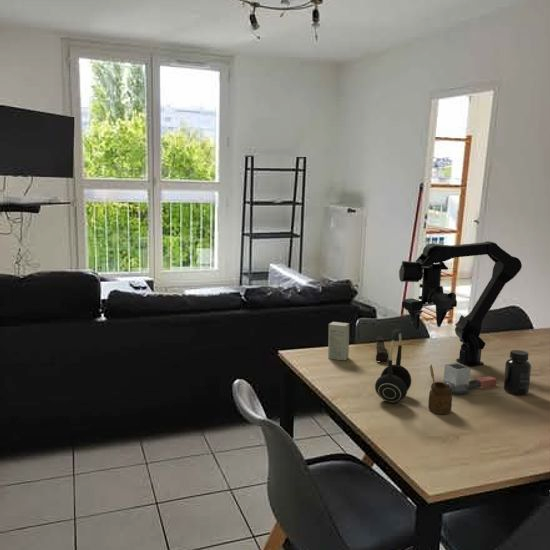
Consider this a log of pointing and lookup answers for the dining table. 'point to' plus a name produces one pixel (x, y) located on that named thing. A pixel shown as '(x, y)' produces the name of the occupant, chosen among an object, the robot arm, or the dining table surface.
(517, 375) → the supplement bottle
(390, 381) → the headphones
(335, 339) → the skincare box
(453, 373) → the square hollow container
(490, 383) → the ratchet
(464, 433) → the dining table surface
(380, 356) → the hand tool
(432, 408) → the utensil holder
